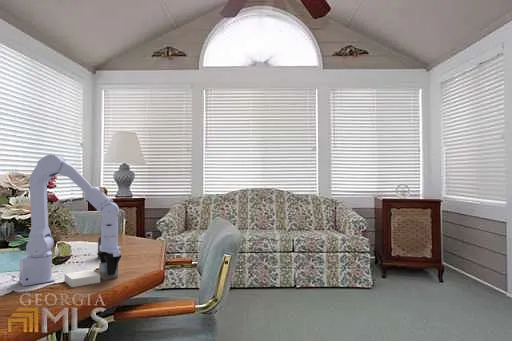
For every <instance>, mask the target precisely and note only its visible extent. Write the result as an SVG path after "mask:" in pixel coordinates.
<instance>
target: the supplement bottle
mask: <svg viewBox="0 0 512 341" xmlns="http://www.w3.org/2000/svg"><path fill="white" fill-rule="evenodd" d="M100 245H101V233H100V234H99V237H98V238H97V253H101V251H100ZM97 258H98V259H99V257H98V256H97Z"/></svg>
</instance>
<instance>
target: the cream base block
mask: <svg viewBox="0 0 512 341" xmlns="http://www.w3.org/2000/svg"><path fill="white" fill-rule="evenodd" d="M63 281H64V283H66V284H67V285H68V286H70V287H71V288H77V287H81V286H85V285H92V284H99V283H101V278H100V274H99V272H97V271H95V270H93V269H87V270H79V271H73V272H67V273H64V280H63Z"/></svg>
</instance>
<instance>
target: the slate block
mask: <svg viewBox="0 0 512 341" xmlns="http://www.w3.org/2000/svg"><path fill="white" fill-rule="evenodd" d="M98 264H99V268H98V271H99V272H98V274H100V279H101V280H104V281H106V280H110V279H111V280H113V279H117V278H119V263H118V264H117V268H116V272H115V274H114V275H108V271H107V263H106V262H104V263H101V262H99V263H98Z"/></svg>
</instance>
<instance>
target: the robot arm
mask: <svg viewBox="0 0 512 341" xmlns="http://www.w3.org/2000/svg"><path fill="white" fill-rule="evenodd" d="M57 175H60V176H64V177H67V178H69V179H70V180H71V181H72V182H73V183H74V184H75V185H77V187H79V188H80V189H81V190H82V191H83V192H84V194H85V195H84V196H85V199H86V200H87V202H89V203H90V205H92V206H93V207H94V209H96V210H97V211H98V212H99V214H100V216H101V218H102V219H101V226H100V230H101V231H100V234H101V235H100V237H101V245H100V251H102V252H101V253H98V252H97V253H96V255H97V258H98V257H99V258H98V259H99V263H104V262H106V263H107V271H108V275H114V274H115V272H116V268H117V264H118V265H119V262H120V260H121V259H122V255H121V253H120V249H122V247H121V246H119V218H118V215H119V213H120V207H119V206H118V204H117V203H116V202H114V200H113V198H110V197H109V196H107V194H106V193H105V192H104V191H105V190H104V189H103V188H100V187H98V186H92V185H91V184H90V182H89V181H88V180H87V179H86V178H85V177H84V176H83V175H82V173H80V171H78V169H77V168H76V167H75V166H74V165H73V164H71V163H70V162H69V161H67V160H66V159H65V158H64V157H63V156H60V155H55V154H46V155H44V156H43V157H42V158H41V159H39V160H37V163H36V165H35V167H34V169H33V170H32V172H31V173H30V175H29V178H28V180H29V181H28V183H29V201H30V203H29V204H30V224H31V227H30V228H31V229H30V232H29V234H28V241H27V243H26V245H25V251H26V252H27V256H24V257H20V259H19V274H18V275H19V276H18V278H19V279H18V282H19V283H20V284H21V285H22V286H23V287H26V286H32V285H38V284H44V283H50V282H55V281H56V279H55V278H54V277H53V276H52V275H53V274H52V272H53V270H52V269H53V268H52V267H53V252H52V250H51V249H52V248H53V247H54V244H55V241H54V238H53V236H52V234H51V233H52V232H51V229H50V227H49V210H48V209H49V208H48V189H47V188H48V187H47V184H48V182H49V181H50V180H51V179H52V178H54V176H57Z"/></svg>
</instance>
